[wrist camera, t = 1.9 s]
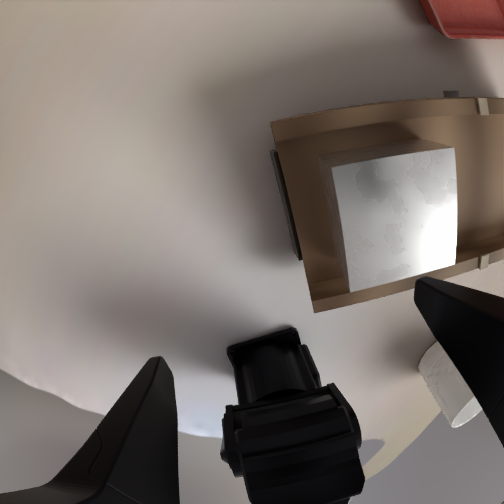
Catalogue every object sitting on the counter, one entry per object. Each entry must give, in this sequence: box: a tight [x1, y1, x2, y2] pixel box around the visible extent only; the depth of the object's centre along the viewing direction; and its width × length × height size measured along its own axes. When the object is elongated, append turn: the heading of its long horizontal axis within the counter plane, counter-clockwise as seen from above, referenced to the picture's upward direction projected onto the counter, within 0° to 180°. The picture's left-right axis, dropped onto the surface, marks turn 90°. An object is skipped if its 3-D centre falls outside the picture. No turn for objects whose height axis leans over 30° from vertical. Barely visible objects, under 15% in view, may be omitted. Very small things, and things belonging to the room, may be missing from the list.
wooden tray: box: [270, 91, 504, 313], centre depth 16 cm, size 27×13×4 cm, turn 105°
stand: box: [270, 149, 303, 261], centre depth 20 cm, size 27×10×4 cm, turn 105°
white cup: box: [418, 341, 482, 428], centre depth 27 cm, size 8×8×10 cm
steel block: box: [317, 138, 457, 292], centre depth 16 cm, size 7×7×4 cm
